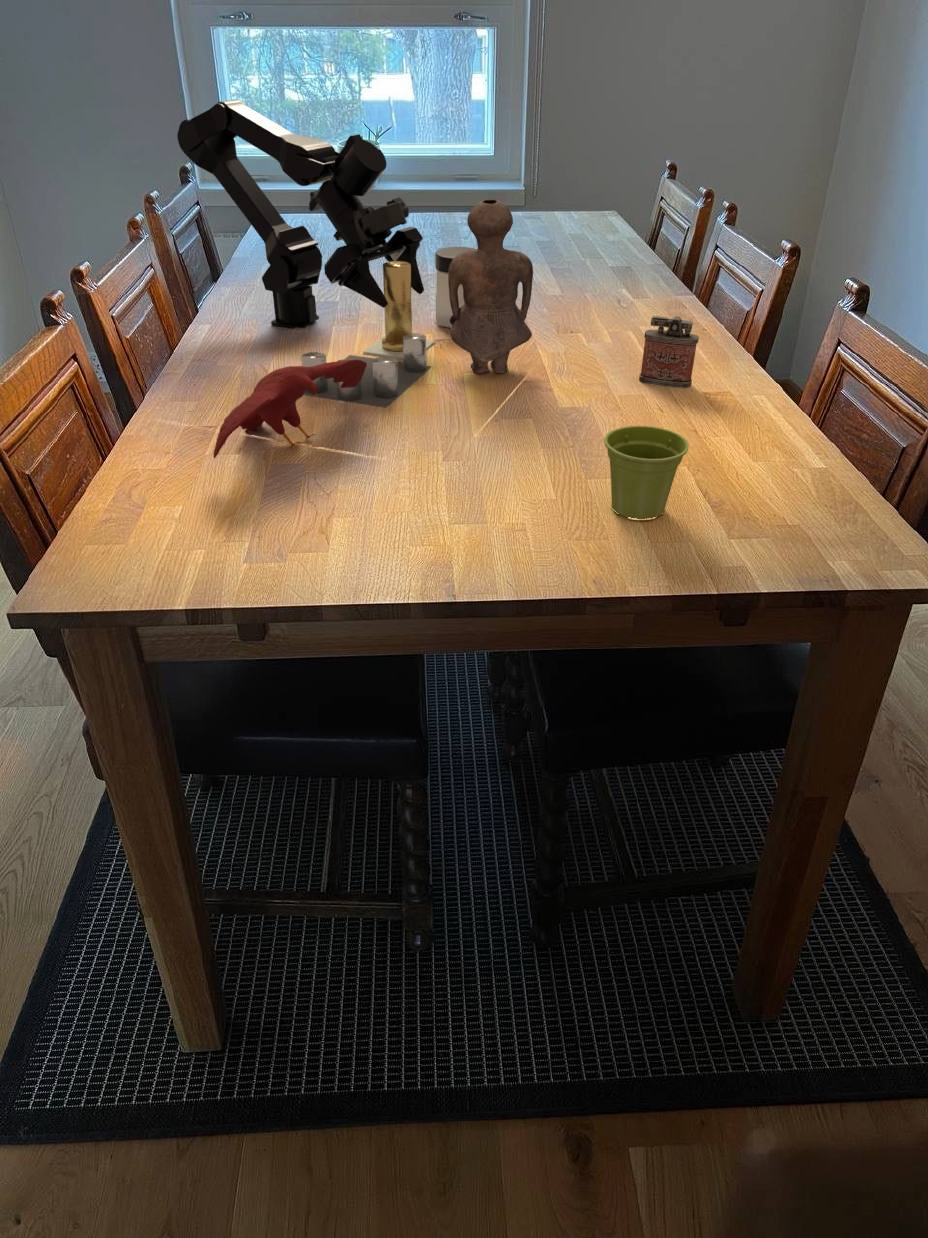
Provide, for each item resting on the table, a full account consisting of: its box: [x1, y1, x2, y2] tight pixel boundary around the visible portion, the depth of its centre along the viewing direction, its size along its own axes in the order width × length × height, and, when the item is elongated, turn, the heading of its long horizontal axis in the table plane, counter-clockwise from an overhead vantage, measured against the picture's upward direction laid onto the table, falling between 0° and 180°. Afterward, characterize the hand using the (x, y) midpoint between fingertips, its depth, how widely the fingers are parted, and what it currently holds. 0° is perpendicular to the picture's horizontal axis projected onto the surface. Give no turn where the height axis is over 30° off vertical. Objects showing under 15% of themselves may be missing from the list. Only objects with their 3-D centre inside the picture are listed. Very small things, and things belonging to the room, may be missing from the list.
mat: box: [303, 354, 433, 408], centre depth 140 cm, size 14×18×1 cm
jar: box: [434, 246, 478, 329], centre depth 161 cm, size 9×8×12 cm
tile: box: [362, 335, 435, 360], centre depth 152 cm, size 9×9×1 cm
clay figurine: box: [448, 198, 534, 374], centre depth 138 cm, size 13×10×25 cm
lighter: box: [638, 315, 700, 389], centre depth 138 cm, size 8×3×10 cm, turn 71°
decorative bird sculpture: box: [213, 359, 367, 459], centre depth 120 cm, size 28×9×15 cm
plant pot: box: [603, 425, 690, 519], centre depth 105 cm, size 9×9×9 cm
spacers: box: [300, 332, 428, 402], centre depth 139 cm, size 14×18×5 cm
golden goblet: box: [382, 261, 413, 352], centre depth 148 cm, size 6×6×13 cm
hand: (404, 298), depth 147 cm, fingers open, 9 cm apart
